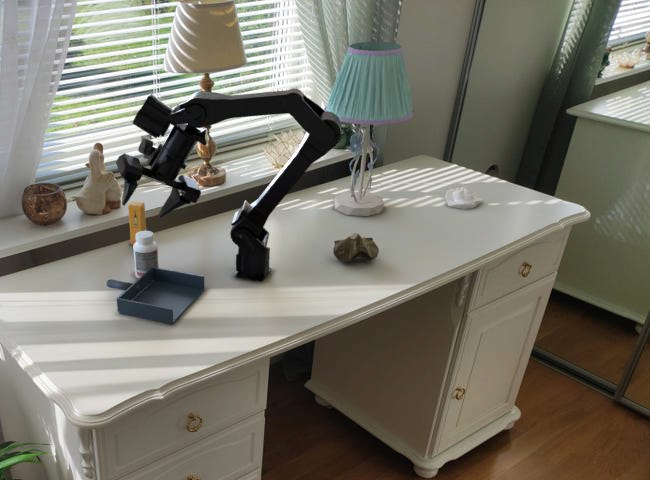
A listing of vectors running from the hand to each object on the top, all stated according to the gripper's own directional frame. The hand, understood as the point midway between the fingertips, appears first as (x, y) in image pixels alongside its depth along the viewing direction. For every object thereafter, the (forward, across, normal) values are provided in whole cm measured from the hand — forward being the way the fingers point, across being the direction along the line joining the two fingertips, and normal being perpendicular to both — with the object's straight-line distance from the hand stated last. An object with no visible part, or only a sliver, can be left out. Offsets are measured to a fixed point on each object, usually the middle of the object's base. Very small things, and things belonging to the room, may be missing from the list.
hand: (141, 210), depth 156 cm
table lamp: (-13, -64, -14) cm, 67 cm away
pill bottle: (+11, -6, +7) cm, 14 cm away
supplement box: (+14, -10, -10) cm, 20 cm away
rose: (-28, -87, -8) cm, 92 cm away
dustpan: (+10, -2, +18) cm, 20 cm away
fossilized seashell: (-15, -45, +13) cm, 49 cm away
